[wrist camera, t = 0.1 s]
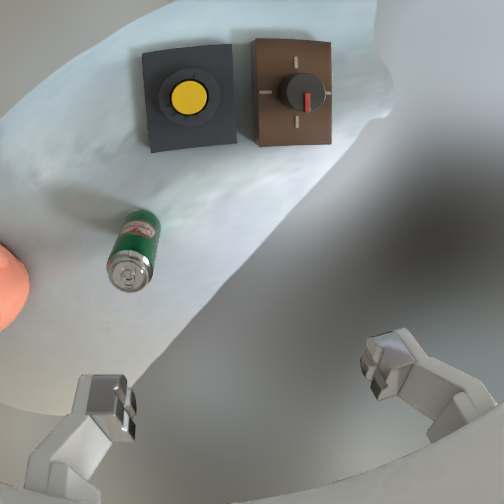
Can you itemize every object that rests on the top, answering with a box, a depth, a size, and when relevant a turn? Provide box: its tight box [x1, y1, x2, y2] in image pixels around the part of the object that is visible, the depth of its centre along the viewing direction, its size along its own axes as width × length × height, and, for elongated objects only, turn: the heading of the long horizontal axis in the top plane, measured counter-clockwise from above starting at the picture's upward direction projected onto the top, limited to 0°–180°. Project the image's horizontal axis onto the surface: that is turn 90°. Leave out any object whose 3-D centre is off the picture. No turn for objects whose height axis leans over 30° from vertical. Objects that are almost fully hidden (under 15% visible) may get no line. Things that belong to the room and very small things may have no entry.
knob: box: [278, 73, 326, 113], centre depth 31 cm, size 4×4×4 cm
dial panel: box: [251, 39, 332, 147], centre depth 33 cm, size 13×9×3 cm
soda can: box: [107, 210, 161, 293], centre depth 35 cm, size 5×5×12 cm
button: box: [172, 81, 207, 114], centre depth 29 cm, size 4×4×2 cm
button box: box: [142, 44, 237, 153], centre depth 32 cm, size 12×10×4 cm
